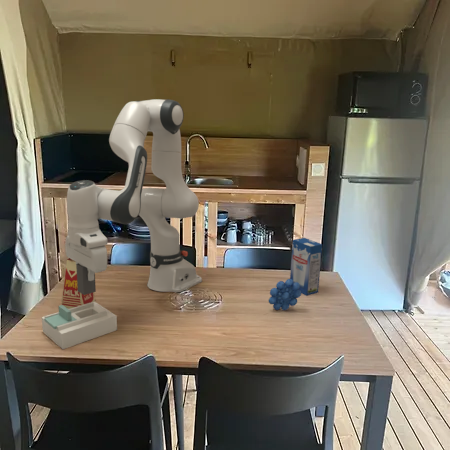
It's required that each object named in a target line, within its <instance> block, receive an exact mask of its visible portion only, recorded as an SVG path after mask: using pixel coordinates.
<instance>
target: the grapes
mask: <svg viewBox="0 0 450 450" xmlns="http://www.w3.org/2000/svg"><path fill="white" fill-rule="evenodd" d="M299 288H300V284H299V283H298V282H295V283H293V280H292V279H290V278H287V279H286V280H285V282H284V281H283V280H279V281H277V283H276V285H275V287H272V288H271V289H270V291H269V295H270V297H269V298H268V303H269V304H270V305H272V307H273V310H275V311H278V310H280V309H281V310H282V311H287V310H289V308H290V306H291V307H294V306H296V305H297V304H298V298H300V297H301V296H302V295H303V294H302V293H301V291H300V290H298V289H299Z"/></svg>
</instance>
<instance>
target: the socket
mask: <svg viewBox="0 0 450 450" xmlns="http://www.w3.org/2000/svg"><path fill="white" fill-rule="evenodd" d="M68 309H69V310H70V311H71V316H73V317H74V318H75V319H77V320H75V321H72V322H69V323H65V324H62V325H59V326H57V329H54V328H52V327H51V326H50V325H49V324H48V323H47V322H45V320H44V318H48V317H51V316H54V315H58V314H59V311H58V312H54V313H51V314H48V315H44V316H42V317H41V325H42V328H41V329H42V333H44V334H45V335H46V336H47V337H48V338H49V339H50V340H52V341H53V342H54V343H55V345H57V346H58V347H59V348H60V349H62V350H65V349H69V348H70V347H74V346H77V345H79V344H82V343H85V342H87V341H91V340H93V339H97V338H98V337H102V336H104V335H106V334H110V333H113V332H115V331H118V322H117V321H118V320H117V319H118V316H117V315H116V314H114V313H113V312H112V311H110V310H109V309H107V308H106V307H104V306H102V305H101V304H99V303H98V302H96V301H94V302H91V303H87V304H84V305H80V306H77V307H74V308H68Z"/></svg>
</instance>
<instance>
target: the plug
mask: <svg viewBox="0 0 450 450" xmlns="http://www.w3.org/2000/svg"><path fill="white" fill-rule="evenodd" d="M76 269H77V286H78V292H80V293H81V294H83V295H86V294H90V293H93V292H94V293H97V289H96V273H95V274H94V280H93V281H89V280H87V276H86V275H87V274H88V270H87V268H86V267H85V266H83V265H81V264H76Z"/></svg>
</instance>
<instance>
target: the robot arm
mask: <svg viewBox="0 0 450 450" xmlns="http://www.w3.org/2000/svg"><path fill="white" fill-rule="evenodd" d="M184 114H185V113H184V110H183V107H182V106H181V104H180V103H179V101H176V100H174V99H169V98H168V99H161V98H160V99H159V98H158V99H156V98H155V99H154V98H153V99H147V100H135V101H133V100H132V101H129V102H127V103H126V104H125V105H124V106H123V107H122V108H121V110H120V112H119V114H118V115H117V118H116V119H115V121H114V124H113V126H112V129H111V131H110V134H109V138H108V142H109V146H110V148H111V150H112V152H113V153H114V154H115V155H116V156H117V157H119V158H120V159H122V160H123V161H125V162H126V163H128V170H127V174H126V178H125V179H126V180H125V183H124V187H123V188H122V189H121V190H117V189H116V190H115V189H109V188H104V187H100V186H98V185H97V184H95V182H94V181H92V180H89V179H88V180H87V179H86V180H85V179H83V180H77V181H74V182H72V183H71V184H70V185H69V186H68V188H67V192H66V211H67V212H66V213H67V215H68V224H67V226H68V227H67V228H68V229H67V230H68V231H67V236H66V237H65V245H64V247H65V256H66V257H67V259H69V258H70V259H72V260H74V261H76V264H81V265H83V266H85V267H86V268H87V270H88V274H87V275H86V276H87V280H89V281H93V280H94V274H95V275H96V273H102V272H105V271H106V270H107V268H108V249H107V247H106V246H107V245H108V238H107V237H106V236H105V235H104V234H103V232H102V231H101V229H100V225H99V224H100V223H99V221H98V220H100V219H101V220H104V221H111V222H115V223H119V224H122V225H129V224H131V223H133V222H134V221H136V219H137V218H138V216H139V217H140V218H141V219H142V220H143V221H144V223H145V224H146V227H147V228H148V231H149V236H150V251H149V263H150V269H149V276H148V281H147V288H148V289H150V290H153V291H155V292H164V293H166V292H170V293H171V292H173V293H181V292H183V291H185V290H188V289H190V288H191V287H194V286H195V285H198V284H201V283H202V282H203V279H202V277H201V276H200V275H199V274H197V271H196V270H197V269H196V267H195V266H194V265H193V264H192V263H191V262H189V261H187V260H186V259H184V257H188V254H189V253H188V251H186V250H181V249H180V236H181V235H180V232H179V230H178V229H177V228H176V227H174V226H173V225H171V224H170V223H169V222H168V221H167V220H166V218H172V219H187V218H193V217H194V216H195V215H196V214H197V212H198V210H199V205H200V203H199V198H198V196H197V195H196V193H195V192H194V191H193V190H192V189H191V188H189V186H188V185H187V182H186V181H185V180H184V177H183V171H182V138H181V137H182V136H181V130H180V128H181V127H182V125H183V122H184V116H185V115H184ZM148 132H152V145H151V164H150V165H151V172H152V174H153V175H154V176H155V177H157V178H158V179H160V180H162V181H163V182H164V184H165V187H166V188H161V187H160V188H159V187H145V188H144V181H145V176H146V173H147V172H146V170H147V166H148V152H147V149H145V147H144V146H145V141H146V137H147V134H148Z"/></svg>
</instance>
